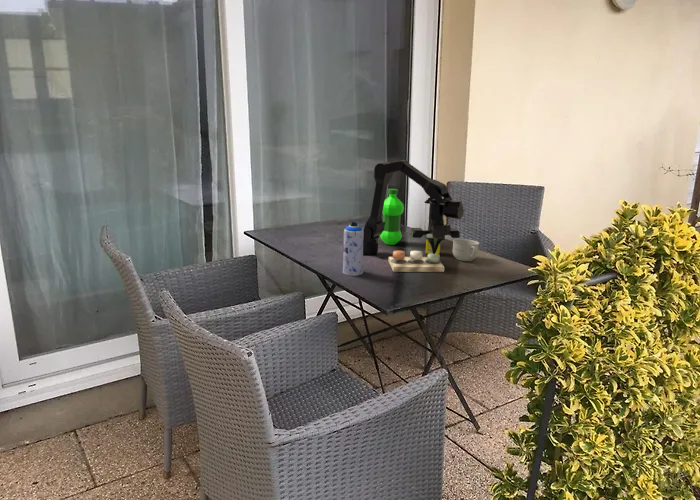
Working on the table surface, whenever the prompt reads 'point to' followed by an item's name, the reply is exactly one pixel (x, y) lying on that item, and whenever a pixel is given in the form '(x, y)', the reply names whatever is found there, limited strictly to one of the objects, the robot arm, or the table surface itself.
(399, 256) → the rust button
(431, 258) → the sage button
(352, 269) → the aerosol can
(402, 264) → the panel
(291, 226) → the table surface
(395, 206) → the plastic bottle
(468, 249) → the teacup
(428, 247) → the supplement box
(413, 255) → the cream button
